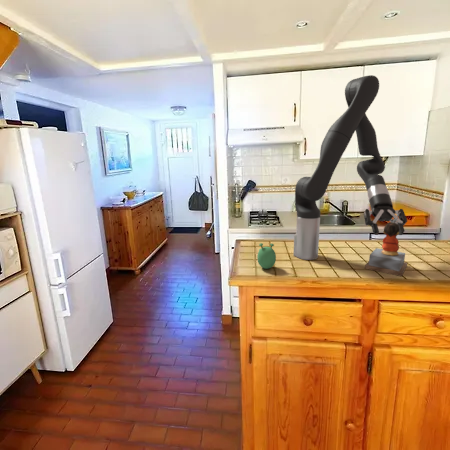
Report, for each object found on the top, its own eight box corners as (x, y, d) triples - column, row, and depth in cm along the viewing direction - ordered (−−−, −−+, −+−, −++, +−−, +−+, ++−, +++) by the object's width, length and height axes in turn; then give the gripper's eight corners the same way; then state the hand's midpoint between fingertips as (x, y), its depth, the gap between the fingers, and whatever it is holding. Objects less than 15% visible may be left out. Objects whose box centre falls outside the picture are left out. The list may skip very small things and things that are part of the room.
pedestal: (364, 268, 107) (366, 255, 106) (372, 259, 116) (373, 247, 115) (401, 276, 100) (403, 262, 99) (407, 265, 109) (408, 252, 108)
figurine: (401, 257, 104) (405, 224, 101) (385, 256, 104) (389, 224, 102) (394, 251, 110) (397, 220, 107) (378, 251, 110) (381, 220, 108)
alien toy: (273, 263, 114) (274, 239, 112) (277, 271, 106) (277, 245, 104) (256, 264, 114) (256, 240, 112) (258, 271, 107) (258, 246, 104)
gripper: (363, 192, 112) (372, 228, 103) (402, 192, 110) (414, 228, 102) (357, 204, 118) (365, 238, 109) (394, 203, 116) (405, 238, 108)
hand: (389, 233), depth 106 cm, fingers open, 8 cm apart
